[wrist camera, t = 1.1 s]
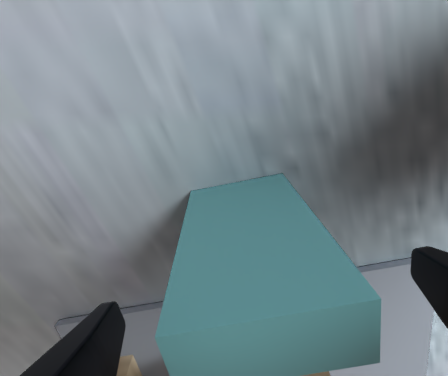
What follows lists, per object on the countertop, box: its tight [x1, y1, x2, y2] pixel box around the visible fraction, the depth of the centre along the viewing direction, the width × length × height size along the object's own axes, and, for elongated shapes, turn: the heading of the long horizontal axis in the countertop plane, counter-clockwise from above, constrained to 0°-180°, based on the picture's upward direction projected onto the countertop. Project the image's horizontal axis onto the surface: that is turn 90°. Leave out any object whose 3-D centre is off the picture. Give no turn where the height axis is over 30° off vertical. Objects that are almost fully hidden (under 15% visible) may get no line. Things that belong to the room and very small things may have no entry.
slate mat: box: [55, 258, 434, 376], centre depth 18 cm, size 24×12×1 cm, turn 101°
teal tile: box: [155, 173, 381, 376], centre depth 10 cm, size 2×5×9 cm, turn 101°
